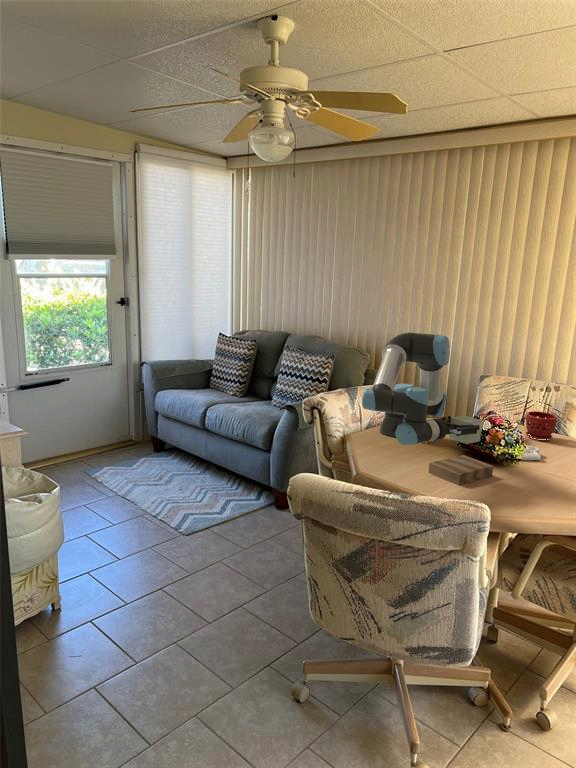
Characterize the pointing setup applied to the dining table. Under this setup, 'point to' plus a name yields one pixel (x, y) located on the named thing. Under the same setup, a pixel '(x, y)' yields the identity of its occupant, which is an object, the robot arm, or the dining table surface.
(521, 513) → the dining table surface
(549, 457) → the dining table surface
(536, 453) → the white brass knuckles
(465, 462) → the block
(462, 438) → the green block
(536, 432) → the plant pot
